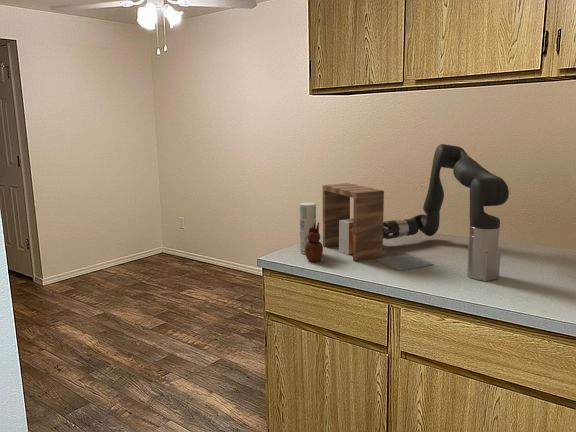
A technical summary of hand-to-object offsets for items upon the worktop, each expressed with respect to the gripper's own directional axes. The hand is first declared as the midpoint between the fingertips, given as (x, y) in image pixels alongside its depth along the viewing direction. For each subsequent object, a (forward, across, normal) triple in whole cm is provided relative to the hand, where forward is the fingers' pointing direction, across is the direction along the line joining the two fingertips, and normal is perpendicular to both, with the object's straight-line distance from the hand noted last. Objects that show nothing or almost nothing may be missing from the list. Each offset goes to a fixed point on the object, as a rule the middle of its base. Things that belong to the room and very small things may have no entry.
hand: (361, 233), depth 199 cm
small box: (+5, 0, +7) cm, 9 cm away
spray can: (+21, -7, +7) cm, 23 cm away
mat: (-4, +22, +7) cm, 23 cm away
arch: (+5, 0, +7) cm, 9 cm away
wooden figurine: (+24, +4, +7) cm, 25 cm away
